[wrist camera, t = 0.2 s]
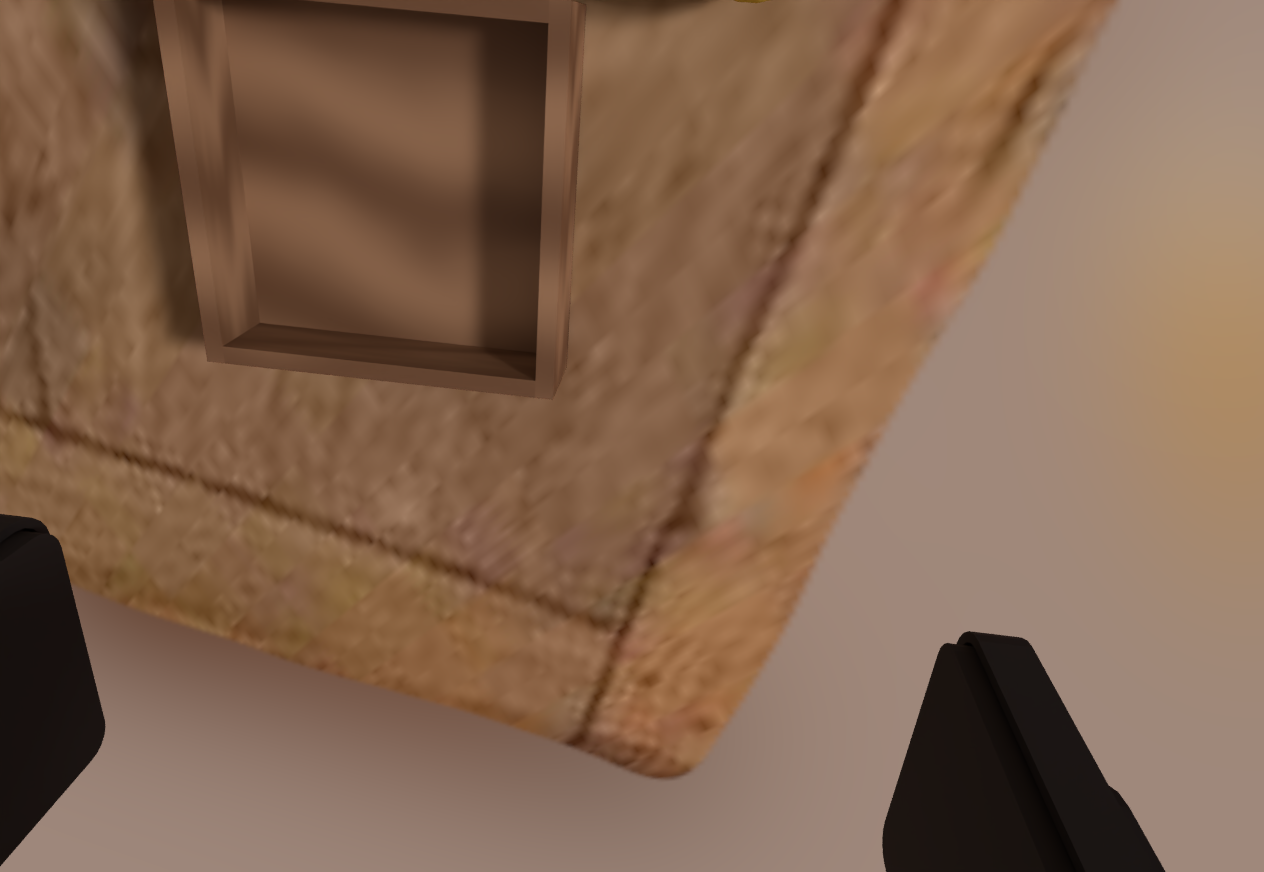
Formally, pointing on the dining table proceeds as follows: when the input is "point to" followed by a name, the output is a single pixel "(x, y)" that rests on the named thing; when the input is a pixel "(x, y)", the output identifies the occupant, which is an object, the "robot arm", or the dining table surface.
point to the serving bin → (381, 184)
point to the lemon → (752, 1)
